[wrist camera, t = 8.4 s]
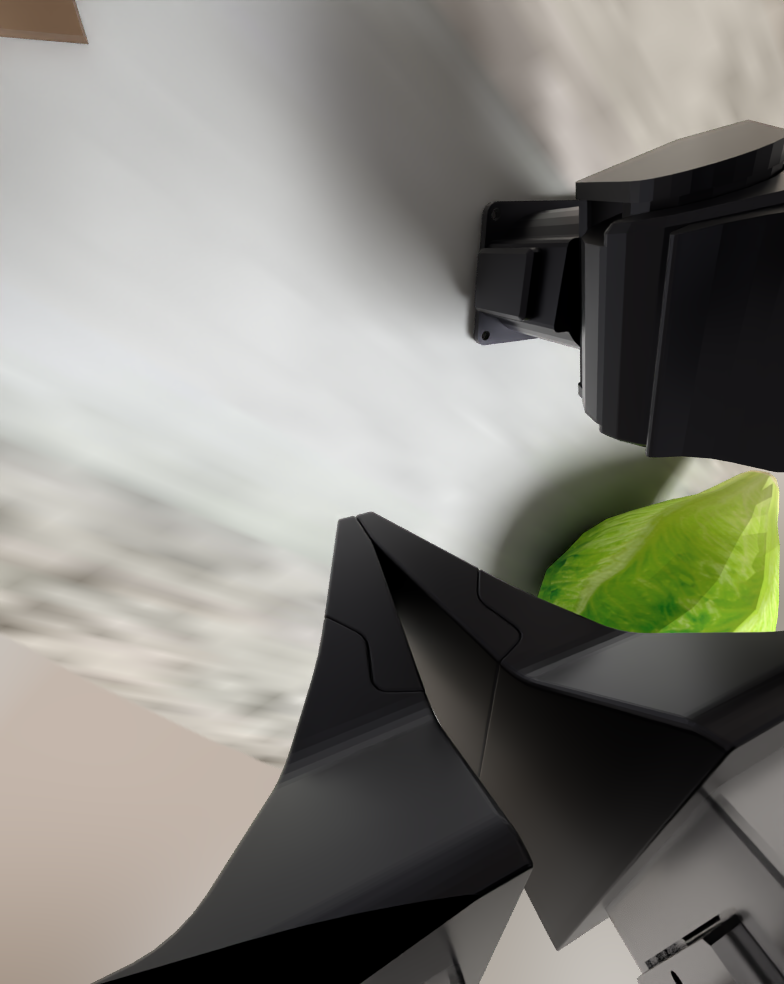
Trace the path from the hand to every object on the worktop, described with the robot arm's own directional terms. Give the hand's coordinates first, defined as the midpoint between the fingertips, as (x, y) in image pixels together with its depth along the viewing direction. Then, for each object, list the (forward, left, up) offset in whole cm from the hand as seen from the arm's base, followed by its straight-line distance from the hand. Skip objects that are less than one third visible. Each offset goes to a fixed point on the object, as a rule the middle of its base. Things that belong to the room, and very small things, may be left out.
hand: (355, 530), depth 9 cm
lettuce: (-27, +18, -13) cm, 35 cm away
